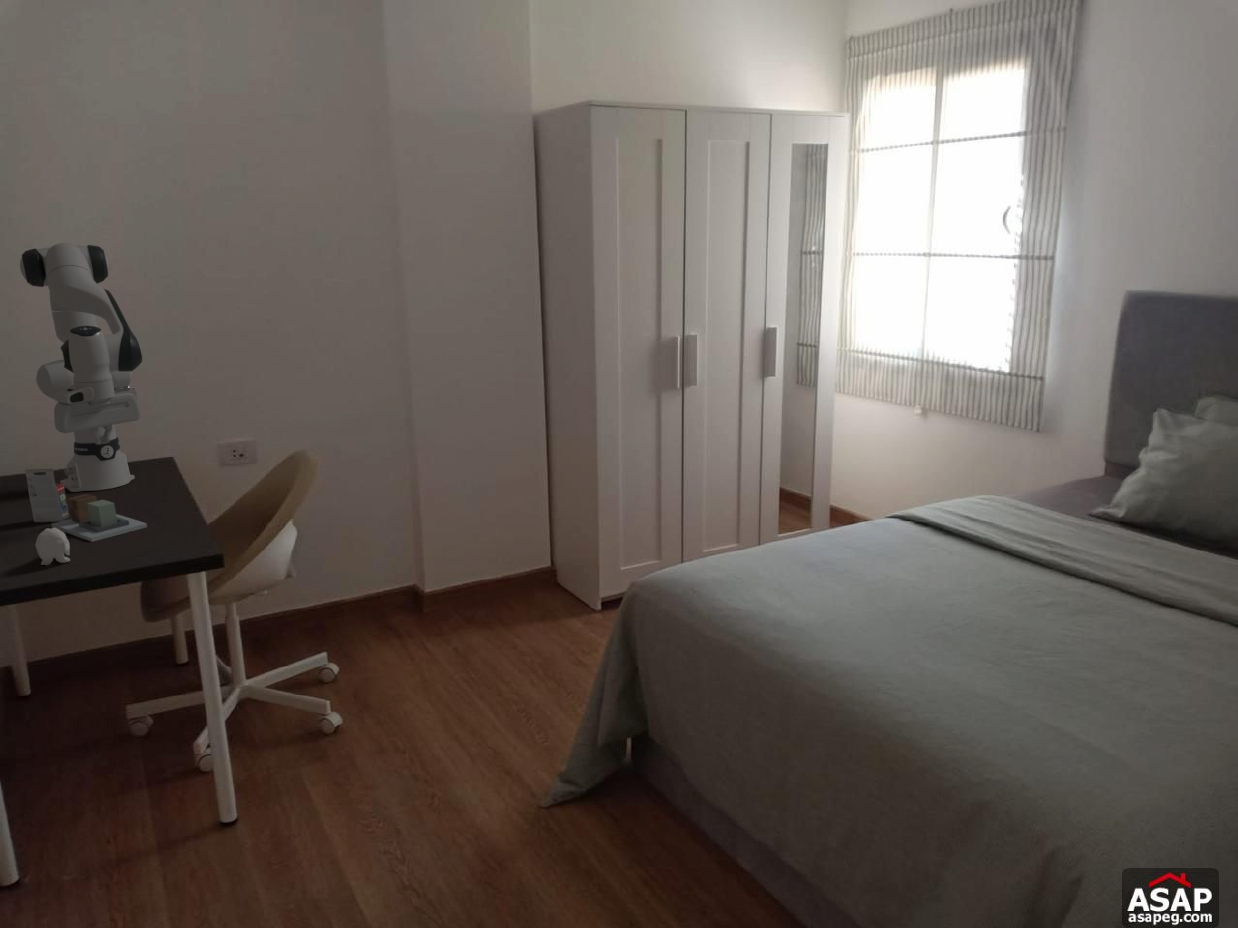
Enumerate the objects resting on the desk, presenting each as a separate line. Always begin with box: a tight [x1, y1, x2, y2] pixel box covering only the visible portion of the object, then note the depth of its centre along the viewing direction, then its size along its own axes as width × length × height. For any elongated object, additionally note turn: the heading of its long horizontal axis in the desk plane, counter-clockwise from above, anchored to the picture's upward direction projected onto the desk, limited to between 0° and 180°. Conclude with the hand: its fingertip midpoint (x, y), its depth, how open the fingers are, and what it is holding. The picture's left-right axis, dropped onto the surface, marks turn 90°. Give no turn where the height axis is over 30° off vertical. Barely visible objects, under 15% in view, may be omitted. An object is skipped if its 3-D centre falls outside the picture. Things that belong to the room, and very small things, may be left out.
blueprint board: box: [51, 493, 148, 543], centre depth 250 cm, size 22×14×7 cm, turn 53°
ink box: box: [25, 468, 71, 523], centre depth 257 cm, size 4×8×15 cm, turn 90°
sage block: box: [87, 499, 117, 527], centre depth 248 cm, size 6×4×6 cm, turn 53°
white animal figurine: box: [34, 527, 71, 566], centre depth 226 cm, size 6×8×12 cm
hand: (102, 443), depth 250 cm, fingers closed
